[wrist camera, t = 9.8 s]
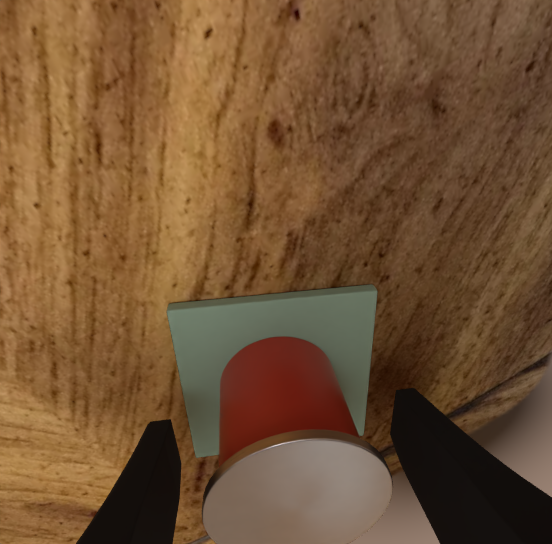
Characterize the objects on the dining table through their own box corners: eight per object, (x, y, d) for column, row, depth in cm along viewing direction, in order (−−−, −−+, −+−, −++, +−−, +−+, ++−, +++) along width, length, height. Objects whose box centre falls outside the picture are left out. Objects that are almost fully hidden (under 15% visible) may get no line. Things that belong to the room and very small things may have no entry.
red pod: (346, 318, 13) (403, 426, 9) (341, 421, 15) (384, 546, 11) (200, 334, 12) (187, 456, 8) (217, 438, 15) (214, 574, 10)
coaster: (373, 283, 13) (378, 290, 12) (360, 426, 16) (364, 435, 16) (167, 303, 12) (166, 311, 12) (196, 447, 15) (195, 458, 15)
